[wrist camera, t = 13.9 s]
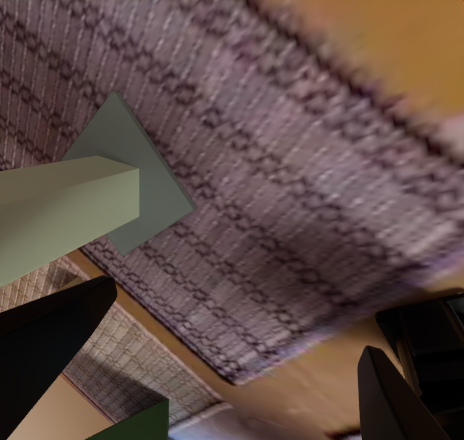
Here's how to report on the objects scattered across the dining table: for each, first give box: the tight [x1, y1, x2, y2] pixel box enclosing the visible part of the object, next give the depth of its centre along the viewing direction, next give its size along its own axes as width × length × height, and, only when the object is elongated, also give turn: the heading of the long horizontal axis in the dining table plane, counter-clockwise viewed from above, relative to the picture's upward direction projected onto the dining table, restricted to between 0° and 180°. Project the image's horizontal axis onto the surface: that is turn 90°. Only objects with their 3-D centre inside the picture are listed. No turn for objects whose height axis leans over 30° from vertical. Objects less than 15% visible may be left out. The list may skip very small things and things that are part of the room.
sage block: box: [0, 156, 139, 288], centre depth 19 cm, size 5×5×13 cm
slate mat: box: [60, 91, 197, 257], centre depth 24 cm, size 12×12×1 cm
